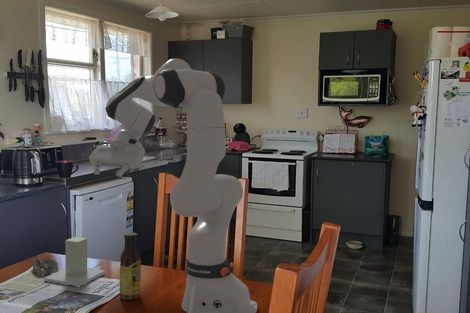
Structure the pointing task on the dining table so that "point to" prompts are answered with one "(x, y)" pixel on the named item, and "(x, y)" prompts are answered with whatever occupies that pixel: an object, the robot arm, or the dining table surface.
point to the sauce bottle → (130, 268)
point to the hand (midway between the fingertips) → (107, 174)
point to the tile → (75, 281)
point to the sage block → (76, 256)
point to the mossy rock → (45, 266)
